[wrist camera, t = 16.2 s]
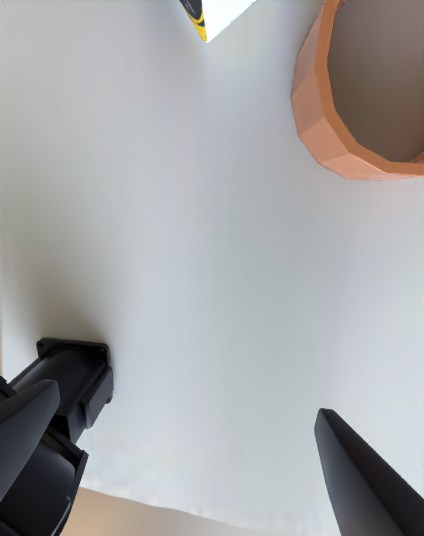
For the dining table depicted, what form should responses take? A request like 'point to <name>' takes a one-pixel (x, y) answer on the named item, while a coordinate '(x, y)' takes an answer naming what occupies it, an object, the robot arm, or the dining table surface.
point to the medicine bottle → (213, 14)
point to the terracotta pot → (334, 113)
